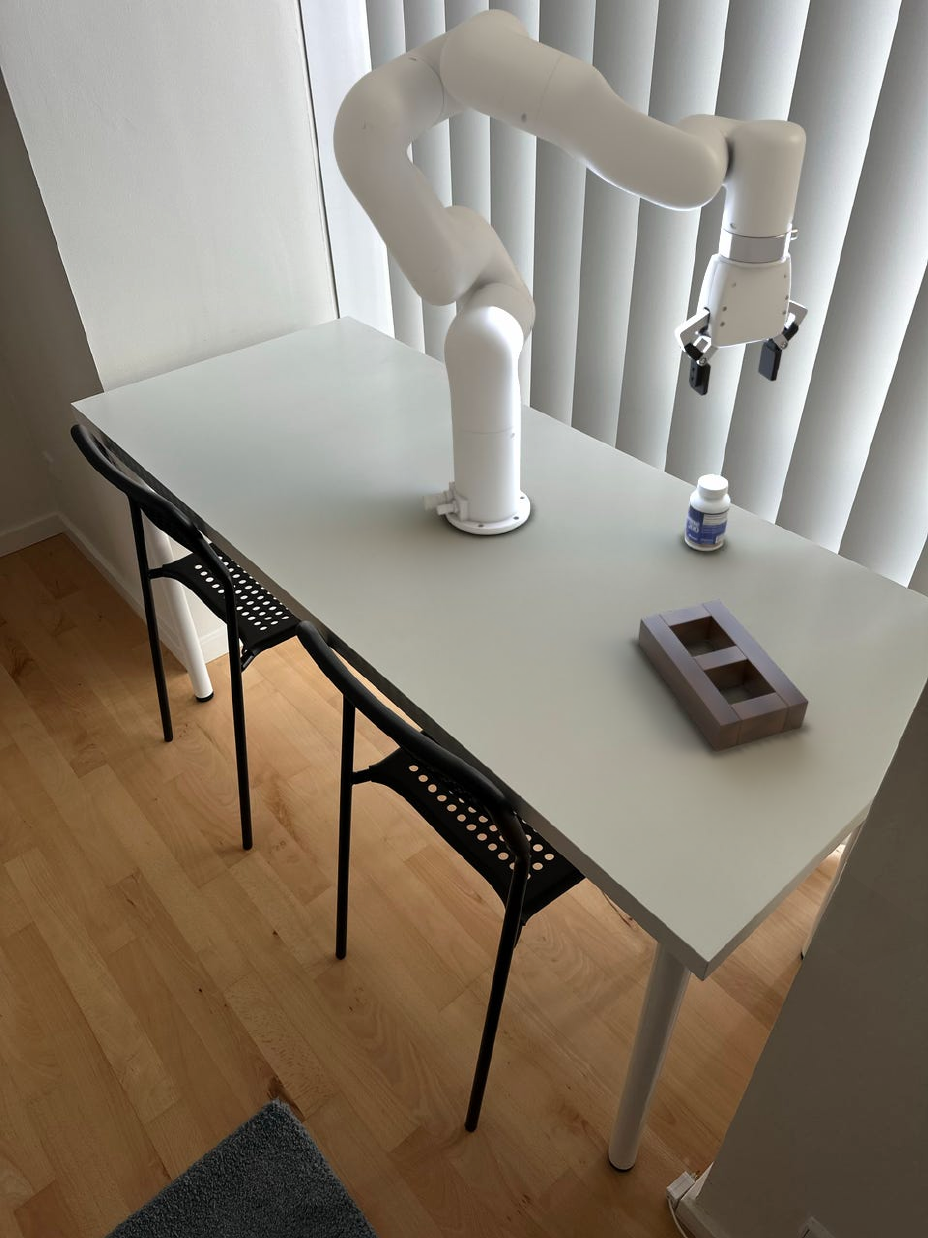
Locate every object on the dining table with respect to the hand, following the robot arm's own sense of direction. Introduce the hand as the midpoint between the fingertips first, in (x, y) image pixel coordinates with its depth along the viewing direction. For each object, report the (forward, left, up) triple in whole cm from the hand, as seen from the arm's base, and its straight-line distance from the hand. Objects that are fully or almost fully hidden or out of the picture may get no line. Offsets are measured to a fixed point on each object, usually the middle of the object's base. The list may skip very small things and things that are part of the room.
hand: (732, 383), depth 118 cm
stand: (-13, -26, -24) cm, 38 cm away
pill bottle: (0, 0, -24) cm, 24 cm away
